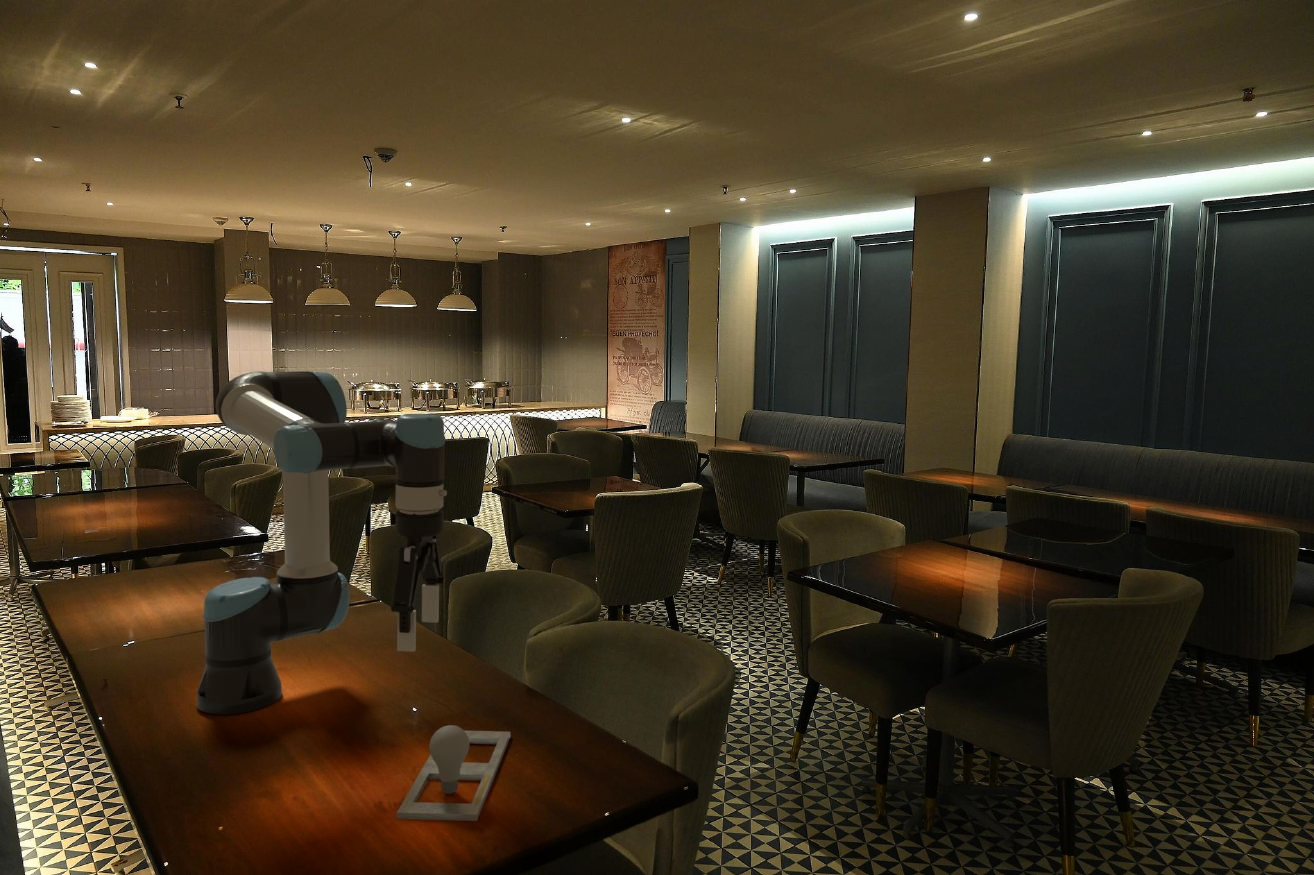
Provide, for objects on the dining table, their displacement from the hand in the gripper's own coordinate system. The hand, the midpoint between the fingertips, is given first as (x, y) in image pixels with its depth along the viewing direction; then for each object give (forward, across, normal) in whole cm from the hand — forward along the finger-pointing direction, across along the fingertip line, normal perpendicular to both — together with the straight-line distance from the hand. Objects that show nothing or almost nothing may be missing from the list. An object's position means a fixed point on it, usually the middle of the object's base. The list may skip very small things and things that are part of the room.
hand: (418, 635), depth 142 cm
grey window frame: (+22, -3, -8) cm, 24 cm away
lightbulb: (+23, -9, -8) cm, 25 cm away
